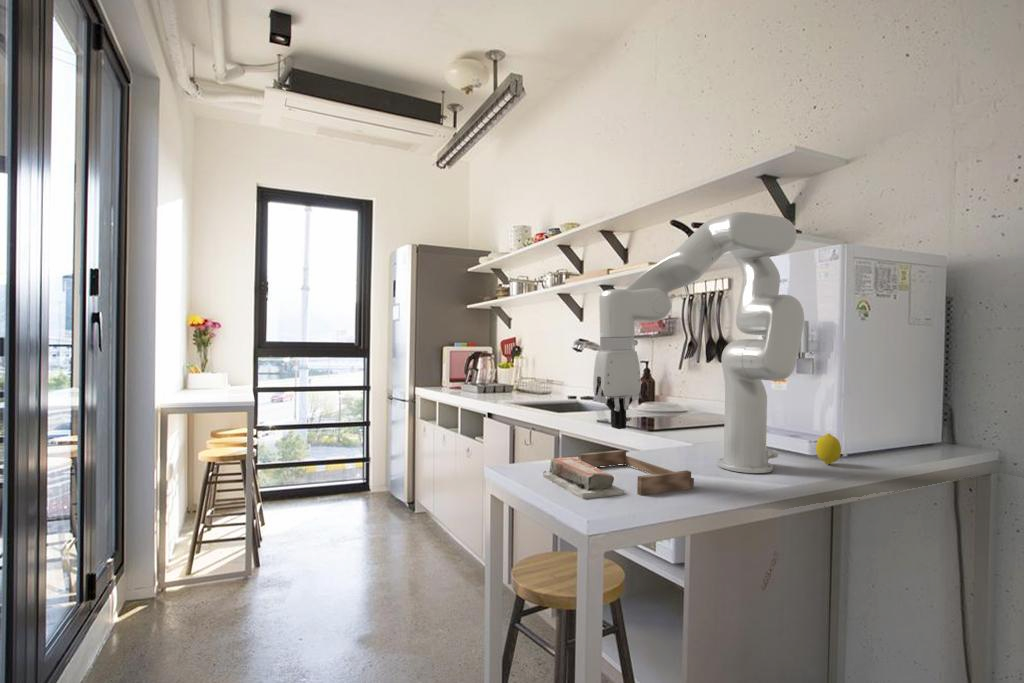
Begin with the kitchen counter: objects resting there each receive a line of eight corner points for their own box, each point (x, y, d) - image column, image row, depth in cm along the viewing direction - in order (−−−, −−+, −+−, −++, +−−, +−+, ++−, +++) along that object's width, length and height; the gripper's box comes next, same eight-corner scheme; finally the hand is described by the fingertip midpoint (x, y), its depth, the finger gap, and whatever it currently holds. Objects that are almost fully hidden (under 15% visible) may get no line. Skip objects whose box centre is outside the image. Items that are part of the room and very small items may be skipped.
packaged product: (541, 457, 120) (580, 454, 124) (541, 478, 120) (579, 474, 124) (582, 476, 103) (625, 472, 107) (582, 501, 104) (625, 496, 107)
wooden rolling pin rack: (625, 463, 134) (625, 449, 134) (693, 487, 113) (694, 471, 113) (578, 468, 128) (578, 454, 128) (641, 495, 107) (641, 477, 107)
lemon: (840, 468, 132) (841, 436, 132) (815, 465, 135) (815, 434, 135) (840, 464, 137) (841, 433, 137) (815, 461, 140) (816, 431, 140)
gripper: (633, 344, 124) (634, 422, 125) (579, 346, 118) (580, 428, 118) (655, 344, 118) (656, 427, 118) (599, 346, 111) (600, 434, 112)
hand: (618, 427), depth 118 cm, fingers closed
